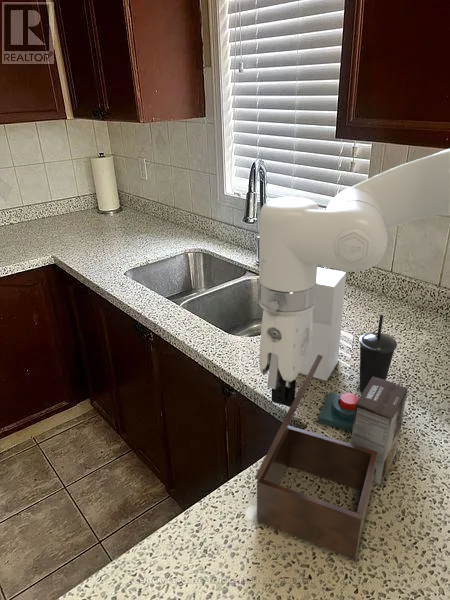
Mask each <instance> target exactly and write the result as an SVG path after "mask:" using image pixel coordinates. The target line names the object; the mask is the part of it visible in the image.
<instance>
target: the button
mask: <svg viewBox="0 0 450 600" xmlns="http://www.w3.org/2000/svg"><path fill="white" fill-rule="evenodd" d="M341 394H342V395H341V396H340V406H341V407H342V408H343V409H346V410H355V406H356V402H357V401H358V397H359V396H358V395H357V394H354V393H352V392H343V393H341ZM357 396H358V397H357Z"/></svg>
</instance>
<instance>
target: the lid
mask: <svg viewBox="0 0 450 600" xmlns="http://www.w3.org/2000/svg"><path fill="white" fill-rule="evenodd" d="M322 357H323V356H321V355H319V354H318V355H317V357H316V359H315V361H314V363H313V365H312V367H311V369H310V371H309V372H308V374H307V375H305V378H304V381H303V382H302V384H301V386H300V388H299V389H298V392H296V394H295V399H294V401H293V403H292V405H291V407H289V408H288V410H287V413H286V414H285V417H284V418H283V420H282V422H281V425H280V427H279V428H278V431H277V432H276V434H275V436H274V439H273V441H272V443H271V445H270V447H269V449H268V450H267V453H266V454H265V456H264V459H263V461H262V462H261V465H259V468H258V470H257V472H256V474H255V476H254V479H255V480H257V481H258V480H260V478H261V477H262V475H263V473H264V471H265V469H266V467H267V465H268V463H269V461H270V459H271V457H272V455H273V453H274V451H275V449H276V447H277V445H278V444H279V442H280V440H281V438H282V436H283V434H284V432H285V430H286V428H287V426H288V425H290V422H291V420H292V418H293V416H294V415H295V412H296V411H297V409H298V407H299V404H300V403H301V402H302V399H303V397H304V395H305V393H306V391H307V389H308V387H309V385H310V384H311V381H312V379H313V378H314V377H313V375H314V373H315V371H316V369H317V367H318V365H319V363H320V361H321V359H322Z"/></svg>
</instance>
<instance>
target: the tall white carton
mask: <svg viewBox="0 0 450 600" xmlns="http://www.w3.org/2000/svg"><path fill="white" fill-rule="evenodd" d="M346 280H347V271H341V270H336V269H331V268H325V267H324V268H323V267H318V270H317V284H316V298H315V306H314V308H313V309H312V348H311V352H310V354H309V356H308V358H307V360H306V361H305V363H304V365H303V367H302V369H301V370H300V372H299V374H301V375H304V376H307V374H308V372H309V371H310V369H311V367H312V365H313V363H314V361H315V359H316V357H317V355H318V354H319V355H321V356H323V357H322V359H321V361H320V363H319V365H318V367H317V369H316V371H315V373H314V375H313V377H312V378H315V379H319V380H322V381H325V382H327V381H328V379H329V378H330V376H331V375H332V373H333V371H334V370H335V368H336V366H337V364H338V363H339V356H340V355H339V354H340V344H341V333H342V324H343V312H344V300H345V290H346Z"/></svg>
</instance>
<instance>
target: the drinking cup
mask: <svg viewBox="0 0 450 600" xmlns="http://www.w3.org/2000/svg"><path fill="white" fill-rule="evenodd" d="M383 321H384V314H379V319H378V327H377V332H374V331H373V332H366V333H363V334H362V335H361V336H360V337H359V338H358V343H359V345H360V346H359V387H358V389H359V391H360V393H361V394H362V393H363V391H364V389H365V388H366V386H367V385H368V383H369V381H370V380H371V378H372V377H377V378H380V379H383V380H386V381H387V377H388V373H389V370H390V367H391V364H392V361H393V358H394V357H393V356H394V353H395V351H396V350H397V347H398V342H397V340H396V339H395V338H394V337H393V336H390V335H388V334H385V333H383V332H382V329H383Z"/></svg>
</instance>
